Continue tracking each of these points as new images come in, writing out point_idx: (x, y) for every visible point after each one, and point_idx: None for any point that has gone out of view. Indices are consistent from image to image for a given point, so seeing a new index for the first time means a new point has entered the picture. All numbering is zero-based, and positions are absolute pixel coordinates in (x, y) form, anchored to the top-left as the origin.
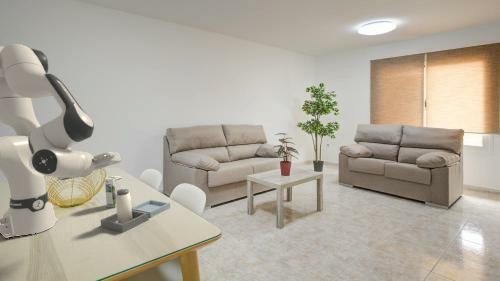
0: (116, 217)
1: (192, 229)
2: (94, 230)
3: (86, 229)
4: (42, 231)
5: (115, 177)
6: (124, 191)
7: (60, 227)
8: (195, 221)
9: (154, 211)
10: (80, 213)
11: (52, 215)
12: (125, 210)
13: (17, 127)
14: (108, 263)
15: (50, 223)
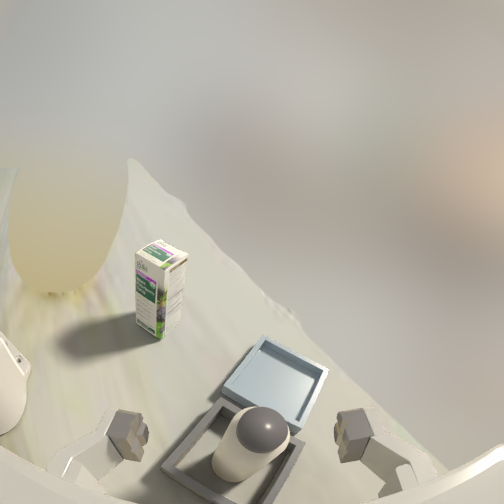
0: (198, 437)
1: None
2: (149, 489)
3: (120, 473)
4: (9, 430)
5: (170, 257)
6: (277, 438)
7: (43, 422)
8: None
9: (307, 416)
10: (75, 344)
11: (13, 376)
12: (257, 470)
13: None
14: None
15: (17, 405)
